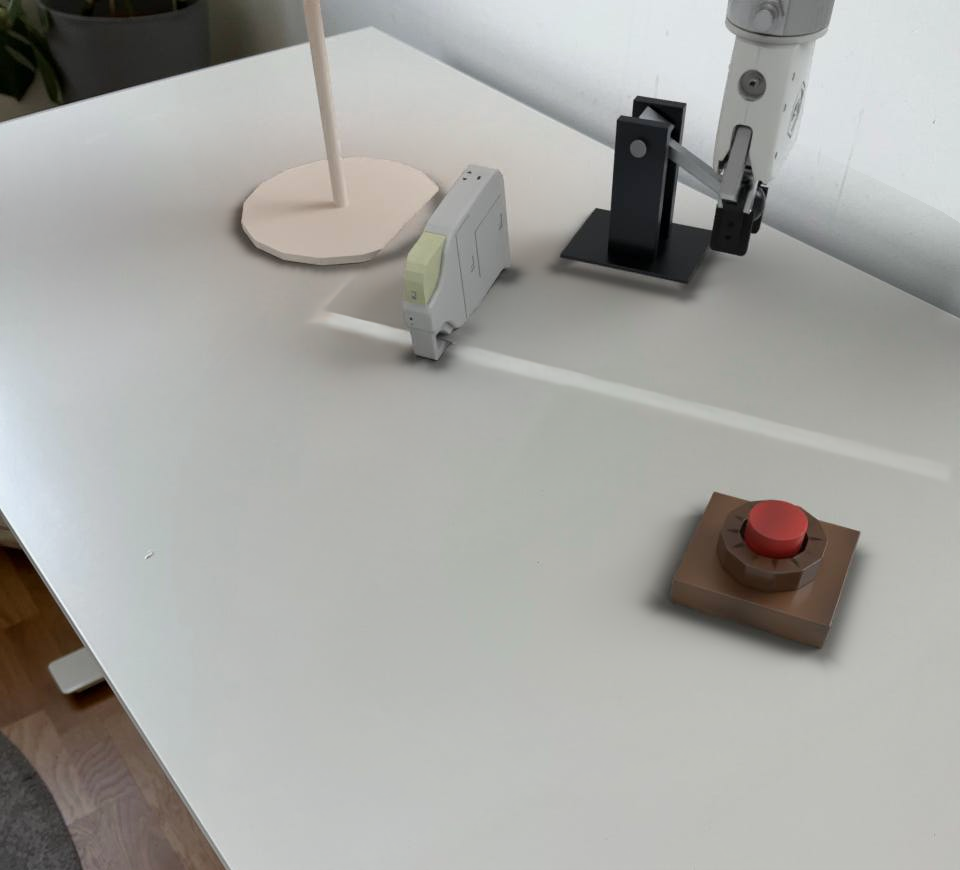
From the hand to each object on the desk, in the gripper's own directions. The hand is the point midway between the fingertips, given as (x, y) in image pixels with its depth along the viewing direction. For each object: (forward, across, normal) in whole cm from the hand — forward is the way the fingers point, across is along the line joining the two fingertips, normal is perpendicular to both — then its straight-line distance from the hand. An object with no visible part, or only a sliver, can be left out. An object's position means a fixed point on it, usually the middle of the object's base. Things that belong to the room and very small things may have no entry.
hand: (734, 238), depth 86 cm
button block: (+3, -35, -13) cm, 37 cm away
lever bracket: (+4, 0, +8) cm, 9 cm away
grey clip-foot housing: (+4, -15, +19) cm, 25 cm away
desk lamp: (+4, -3, +38) cm, 39 cm away
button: (0, -35, -13) cm, 37 cm away
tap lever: (-4, 0, +5) cm, 6 cm away
